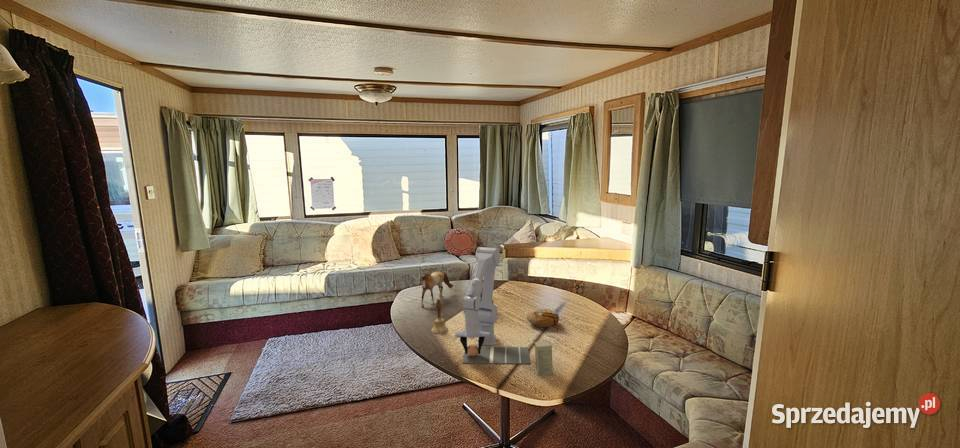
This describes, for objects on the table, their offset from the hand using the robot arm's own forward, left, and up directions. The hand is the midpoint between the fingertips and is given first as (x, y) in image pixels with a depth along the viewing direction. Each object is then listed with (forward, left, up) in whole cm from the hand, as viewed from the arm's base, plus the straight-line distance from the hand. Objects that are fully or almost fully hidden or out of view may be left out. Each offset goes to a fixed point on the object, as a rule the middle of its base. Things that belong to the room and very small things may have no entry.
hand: (473, 353), depth 167 cm
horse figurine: (-65, -26, -2) cm, 70 cm away
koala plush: (-52, -2, -2) cm, 52 cm away
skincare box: (+12, +29, -2) cm, 31 cm away
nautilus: (-30, +34, -2) cm, 46 cm away
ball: (0, 0, +1) cm, 1 cm away
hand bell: (-26, -19, -2) cm, 32 cm away
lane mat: (-1, +10, -2) cm, 10 cm away
